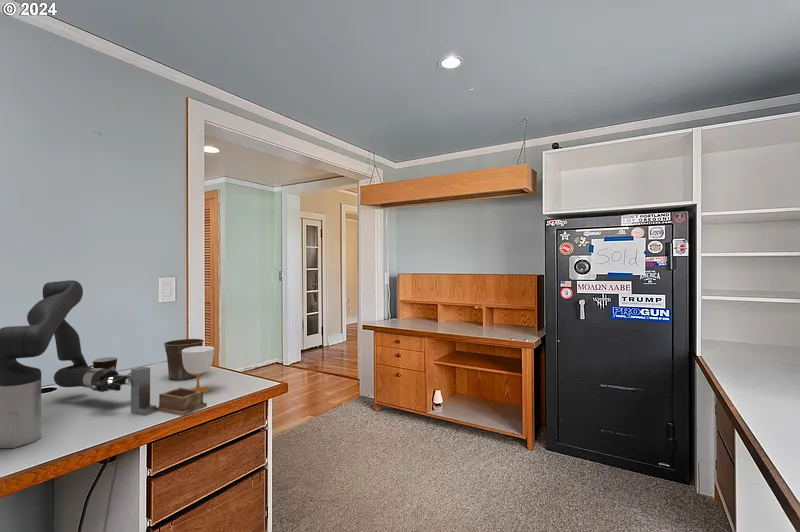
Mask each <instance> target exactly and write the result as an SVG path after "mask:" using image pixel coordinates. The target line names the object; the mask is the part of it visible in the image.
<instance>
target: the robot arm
mask: <svg viewBox="0 0 800 532" xmlns="http://www.w3.org/2000/svg"><path fill="white" fill-rule="evenodd" d="M83 295H84V289H83V286H82V284H81V283H80V282H79V281H77V280H73V279H72V280H70V279H69V280H60V281H52V282H51V281H50V282H46V283H45V284H44V285H43V287H42V298H43V299H41V300H39V301H37V302H36V303H35V304H34V305H33V306H32V307H31V308H30V310H29V311H28V312H27V316H26V320H27V323H28V324H29V325H18V326H17V325H15V326H4V327H1V328H0V449H15V448H17V447H20V446H25V445H29V444H31V443H35V442H36V441H38V440H39V439H40V438H42V370H41V369H40V368H38V367H33V366H29V365H25V364H23V363H21V362H19V361H18V360H17V359H28V358H36V357H39V356H41V355H43V354H44V353H45V352H46V351H47V349H48V347H49V345H50V343H51V341H52V339H53V336H54V339H55V340H54V341H55V348H56V354H57V359H58V360H59V361H61V362H64V361H65V362H66V361H71V363H72V364H73V365H70V366H65V367H62V368H59V369H57V370H56V371H55V373H54V375H53V381H54V383H55V384H56V385H57V386H59V387H61V388H77V387H83V388H88V389H91V390H92V391H95V392H100V393H104V392H109V391H115V392H119V391H121V387H122V386H129V385H130V386H131V372H129V373H128V374H120V373H119V372H118V371H115V370H109V369H102V368H94V367H90V368H89V366H90V365H89V364H88V363H87V361H86V360H85V357H84V355H83V352H82V346H81V339H80V336H79V333H78V332H77V330H75V328H74V327H73V326H72V325H71V324H69V322H68V321H67V320H66V318H67V316H68V314H69V312H70V311H72V310H73V308H74V307H76V306H77V305H78V304H80V302H81V301H82V299H83ZM126 381H127V382H126Z"/></svg>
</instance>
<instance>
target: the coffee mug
mask: <svg viewBox="0 0 800 532" xmlns="http://www.w3.org/2000/svg"><path fill="white" fill-rule="evenodd" d="M117 363H118V357H116V356H115V357H114V356H107V357H100V358H96V359H93V360H92V365H88V366H89V368H102V369H109V370H115V371H116V370H117Z"/></svg>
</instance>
